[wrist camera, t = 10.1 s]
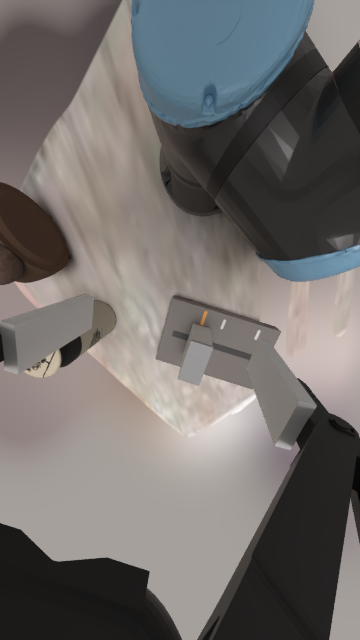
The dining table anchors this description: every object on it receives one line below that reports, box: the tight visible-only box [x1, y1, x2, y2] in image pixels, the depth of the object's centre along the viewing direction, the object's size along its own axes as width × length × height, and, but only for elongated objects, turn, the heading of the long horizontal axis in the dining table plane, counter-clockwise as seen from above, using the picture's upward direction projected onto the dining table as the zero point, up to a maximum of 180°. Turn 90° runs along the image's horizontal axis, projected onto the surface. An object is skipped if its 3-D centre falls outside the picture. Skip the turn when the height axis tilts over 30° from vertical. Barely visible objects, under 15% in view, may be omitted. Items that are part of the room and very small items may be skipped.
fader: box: [178, 323, 213, 386], centre depth 34 cm, size 4×7×9 cm, turn 164°
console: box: [156, 296, 281, 389], centre depth 40 cm, size 22×14×3 cm, turn 74°
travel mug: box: [24, 301, 116, 378], centre depth 35 cm, size 8×8×18 cm
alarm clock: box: [0, 182, 72, 285], centre depth 30 cm, size 15×7×20 cm, turn 21°
